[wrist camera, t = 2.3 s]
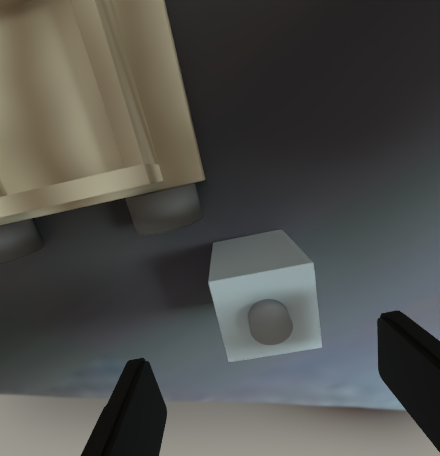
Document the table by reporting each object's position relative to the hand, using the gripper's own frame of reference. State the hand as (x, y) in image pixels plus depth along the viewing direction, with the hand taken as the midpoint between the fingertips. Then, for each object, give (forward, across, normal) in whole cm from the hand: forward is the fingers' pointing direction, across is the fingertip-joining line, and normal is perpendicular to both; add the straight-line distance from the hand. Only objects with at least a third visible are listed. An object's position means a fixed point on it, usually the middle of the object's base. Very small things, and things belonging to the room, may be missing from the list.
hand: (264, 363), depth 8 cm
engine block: (+8, -1, 0) cm, 8 cm away
